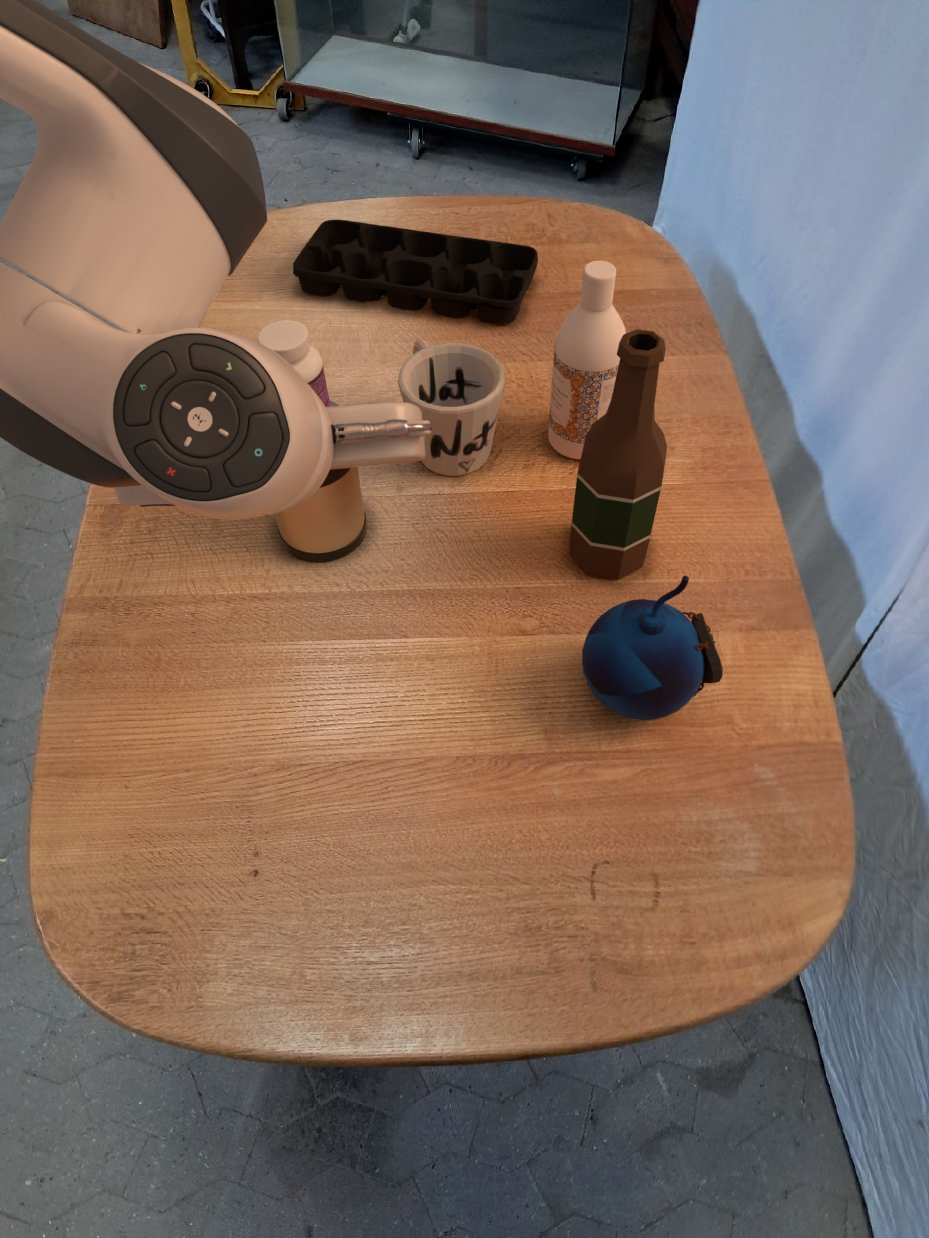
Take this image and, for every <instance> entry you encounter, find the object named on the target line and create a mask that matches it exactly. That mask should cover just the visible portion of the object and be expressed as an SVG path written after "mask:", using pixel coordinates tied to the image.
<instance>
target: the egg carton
mask: <svg viewBox="0 0 929 1238" xmlns="http://www.w3.org/2000/svg"><path fill="white" fill-rule="evenodd" d="M538 263H539V253H538V251H537V248H536V249H535V248H534V247H533V246H529V245H525V244H517V243H513V242H512V243H511V242H502V241H497V240H496V241H495V240H489V239H481V238H476V237H475V238H474V237H466V236H460V235H459V236H458V235H451V234H445V233H436V232H432V231H424V230H417V229H409V228H402V227H396V226H389V225H381V224H375V223H367V222H361V221H353V220H349V219H348V220H346V219H327V220H324V221H322V222H321V223H320V225H319V226H318V227H317V229H316V230H314V232H313V233H312V235H311V237H310V238H309V239H308V241H307V243H306V244H305V245H304V246H303V248H302V249H301V250H300V252H299V254H298V255H297V256H296V258H295V259H294V261H293V263H292V274H293V275H294V277H296V278H298V281H299V285H300V289H301V291H302V292H303V293H305V294H308V295H312V296H316V297H330V296H333V295H336V293H337V292H338V291H339V290H340V288H341V289H342V293H343V297H344V298H345V299H346V300H348V301H351V302H352V301H353V302H356V303H357V302H358V303H371V302H379V301H380V300H381V299H382V297H386V302H387V304H388V306H390V307H392V308H395V309H399V310H406V311H419V310H422V309H424V308H425V307H426V304H427V303H428V301H429V299H430V306H431V310H432V312H433V313H434V314H435V315H438V316H443V317H449V318H458V319H462V318H464V317H467V316H469V315H470V314H471V312H472V311H476V317H477V318H478V320H479V321H480V322H483V323H487V324H495V325H502V326H503V325H508V324H511V323H513V322H514V321H516V320H517V317H518V315H519V313H520V310H521V309H520V308H521V304H522V303H523V300H524V297H525V295H526V293H527V291H528V290H529V288H530V286H531V284H532V282H533V278H534V275H535V273H536V271H537V267H538Z"/></svg>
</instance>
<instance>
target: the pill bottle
mask: <svg viewBox="0 0 929 1238" xmlns="http://www.w3.org/2000/svg"><path fill="white" fill-rule="evenodd" d="M257 342H258V343H260V344H262V345H264V346H266V347H268V348H269V349H271V350H273V351H274V352H276V353H277V354H278V355H280V356H281V357H283V358H284V359H285V360H286V361H287V362H288V363H289V364H291V365H292V366H293V367H294V368H295V369H296V370H297V372H298V373H299V374H300V375H301V376H302V377H303V379H304V380H305V381H306V382H307V383H308V385H309V386H310V387H311V388H312V389H313V390H314V392H315V393H316V394H317V395H318V397H319V398H320V399H321V401H322V402H323V404H324V405H325V407H331V406H330V401H331V400H330V396H329V390H328V385H327V379H326V374H325V369H324V362H323V359H322V357H321V354H320V352H319V351H318V350H317V348H315V346H313V345H312V343H311V338H310V334H309V331H308V328H307V327H306V325H304V324H303V323H301V322H300V321H296V320H292V319H281V320H276V321H273V322H270V323H268V324H266V325H265V326H264V327H262V328H261V329H260V330H259V332H258V334H257Z"/></svg>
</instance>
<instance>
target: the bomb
mask: <svg viewBox="0 0 929 1238" xmlns="http://www.w3.org/2000/svg"><path fill="white" fill-rule="evenodd" d="M689 581H690V577H689V576H688V575H683V576H682V578H681V580H680V583H679V584H678V585H677V586H676V587H675V588H674V589H672V590H670V591H668V592H667V593H665V594H663V595H661V596H660V597H659V598H658V599H657V600H656V599H648V598H639V599H637V598H636V599H631V600H627V601H624V602H620V603H618V604H616V605H614V606H613V607H610V608H609V609H608V610H606V611H605V612H603V613H602V614H601V615H600V616H599V617H598V618H597V619H596V620H595V622H594V623H593V624H592V626H591V627H590V629H589V631H588V633H587V634H586V636H585V639H584V643H583V646H582V649H581V665H582V673H583V676H584V679H585V682H586V684H587V686H588V689H589V690H590V692H591V693H592V695H593V696H594V698H595V699H596V700H597V701H598V702H599V703H600V704H601V705H603V706H604V707H605V708H606V709H607V710H609V711H610V712H612V713H614V714H615V715H617V716H620V717H623V718H626V719H629V720H635V721H642V722H643V721H645V722H646V721H654V720H659V719H664V718H666V717H668V716H670V715H673V714H675V713H676V712H678V711H679V710H681V709H682V708H683V707H685V706H686V705H687V704H688V703H690V701H691V700H692V699H693V698H694V697H696V695H698V693H699V692H701V691H703V689H704V688H705V687H704V686H705V684H706V685H707V684H708V685H709V684H717V683H720V682H721V680H722V678H723V675H724V673H723V672H724V671H723V670H724V669H723V665H722V660H721V658H720V655H719V652H718V650H717V647H716V640H714V635H713V634H712V633H711V627H710V626H709V625H707V622H706V620H705V616H704V614H703V613H702V612H699V613H695V612H693V611H690V612H689V611H688V612H687V611H681V610H679V609H677V608H675V607H674V606H672V605H670V604H668V603H666V602H668V601H669V600H671V599H673V598H675V597H677V596H678V595H680V594H681V593H682V592H683V591H684V590H685V589H686V588H687V586H688V583H689ZM690 619H691V620H690Z"/></svg>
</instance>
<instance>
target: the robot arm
mask: <svg viewBox="0 0 929 1238" xmlns="http://www.w3.org/2000/svg"><path fill="white" fill-rule="evenodd" d="M0 100H2V101H4V102H6V103H7V104H9V105H11V106H13V107H16V108H17V109H19V110H21V111H23V112H25V113H26V114H28V115H29V116H30V118H31V119H32V121H33V122H34V125H35V128H36V131H37V148H36V151H35V153H34V157H33V159H32V162H31V164H30V165H29V168H28V170H27V171H26V173H25V174H24V177H23V179H22V181H21V183H20V185H19V186H18V189H17V191H16V193H15V195H14V197H13V199H12V201H11V203H10V205H9V207H8V209H7V210H6V212H5V214H4V216H3V218H2V220H1V222H0V259H1V260H0V439H2V440H4V441H5V442H7V443H8V444H10V445H12V447H14V448H16V449H18V450H19V451H20V452H22V453H24V454H25V455H27V456H29V457H31V458H32V459H35V460H37V461H38V462H41V463H42V464H44V465H46V466H48V467H51V468H53V469H55V470H57V471H58V472H61V473H64V474H65V475H68V476H70V477H72V478H75V479H77V480H80V481H83V482H85V483H88V484H91V485H95V486H98V487H103V488H110V489H111V488H114V490H115V494H116V498H117V502H118V504H119V505H121V506H124V507H138V506H139V507H140V508H145V507H178V508H179V509H182V510H184V511H186V512H190V513H191V514H194V515H197V516H201V517H205V518H210V519H216V520H227V521H237V520H238V521H239V520H246V519H247V520H248V519H253V518H258V517H263V516H270V515H275V514H276V513H281V512H284V511H287V510H290V509H292V508H295V507H297V506H299V505H300V504H302V503H303V502H305V501H306V500H308V499H309V498H310V497H311V496H312V495H313V494H314V493H315V492H316V491H317V490H318V489H319V488H320V486H321V485H322V483H323V482H324V480H325V478H326V477H327V475H328V472H329V470H331V469H343V468H354V467H357V468H363V467H364V468H365V467H376V466H388V465H397V464H398V465H399V464H408V463H409V464H410V463H417V462H420V461H421V460H423V459H424V458H425V455H426V454H425V441H424V436H429V435H430V434H431V430H432V426H431V425H430V421H423V420H422V412H421V410H420V408H419V407H418V406H416V405H414V404H411V403H404V402H403V401H402V402H400V401H384V402H383V401H382V402H369V403H357V404H347V405H339V406H332V407H325V405H324V404H323V402H322V401H321V399H320V398H319V397H318V395H317V394H316V393H315V392H314V390H313V389H312V388H311V387H310V386H309V385H308V383H307V382H306V381H305V380H304V379H303V377H302V376H301V375H300V374H299V373H298V372H297V370H296V369H295V368H294V367H293V366H292V365H291V364H289V363H288V362H287V361H286V360H285V359H284V358H283V357H281V356H280V355H278V354H277V353H276V352H274V351H273V350H271V349H269V348H268V347H266V346H264V345H262V344H260V343H258V341H256V340H254V339H252V338H249V337H247V336H244V335H242V334H239V333H235V332H231V331H227V330H224V329H218V328H211V327H201V326H202V323H203V322H204V320H205V318H206V317H207V315H208V313H209V311H210V309H211V307H212V305H213V304H214V302H215V300H216V298H217V296H218V294H219V293H220V291H221V289H222V287H223V285H224V283H225V282H226V280H227V278H228V277H230V276H231V275H233V273H234V272H235V270H236V269H237V267H238V266H239V264H240V263H241V262H242V260H243V258H244V257H245V255H246V254H247V252H248V250H249V249H250V248H251V246H252V245H253V243H254V242H255V240H256V239H257V237H258V236H259V234H260V232H261V231H262V230H263V228H264V226H265V225H266V224H267V222H268V211H267V200H266V193H265V186H264V180H263V176H262V175H263V174H262V170H261V166H260V163H259V159H258V156H257V155H258V154H257V151H256V148H255V146H254V142H253V140H252V139H251V137H250V136H249V135H248V134H247V133H246V132H245V131H244V130H243V129H242V128H241V127H240V126H239V125H238V123H237V122H236V120H234V119H233V118H232V117H231V116H230V115H229V114H228V113H227V112H226V111H225V110H224V109H223V108H222V107H220V106H219V105H218V104H217V103H215V102H214V101H213V100H211V99H210V98H208V96H206V95H204V94H203V93H201V92H200V91H198V90H197V89H195V88H193V87H191V86H190V85H188V84H186V83H185V82H183V81H181V80H179V79H177V78H176V77H173V76H171V75H169V74H167V73H164V72H163V71H160V70H158V69H156V68H154V67H151V66H149V65H146V64H144V63H141V62H138V61H136V60H134V59H133V58H131V57H130V56H127V55H126V54H124V53H122V52H120V51H119V50H117V49H115V48H113V47H112V46H110V45H109V44H107V43H106V42H103V41H102V40H100V39H98V38H97V37H95V36H93V35H92V34H90V33H89V32H87V31H86V30H83V29H82V28H81V27H79V26H77V25H76V24H74V23H72V22H71V21H69V20H67V18H64V17H62V16H61V15H59V13H56V12H55V11H53V10H52V9H50V8H49V7H47V6H46V5H44V4H42V3H41V2H39V1H37V0H0ZM7 263H8V264H7ZM9 264H10V265H9ZM12 266H13V267H12ZM19 270H20V271H19ZM26 274H27V275H26ZM31 277H32V278H31ZM33 278H34V279H33ZM36 280H37V281H36ZM38 281H39V282H38ZM43 284H44V285H43ZM46 286H47V287H46ZM51 289H52V290H51ZM53 290H54V291H53ZM55 291H56V292H55ZM67 298H68V299H67ZM70 300H71V301H70ZM72 301H73V302H72ZM86 309H87V310H86ZM94 314H95V315H94Z"/></svg>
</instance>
